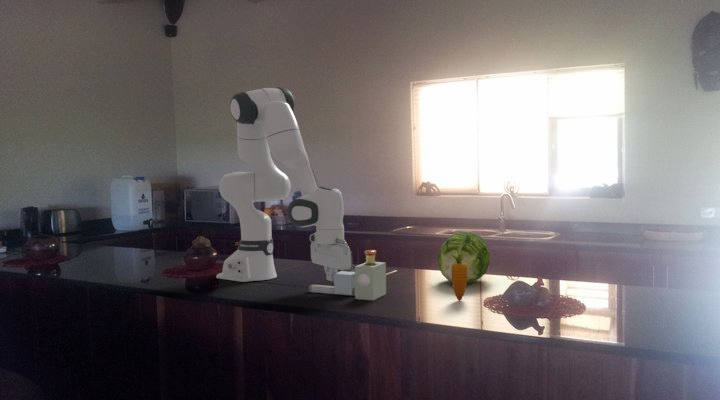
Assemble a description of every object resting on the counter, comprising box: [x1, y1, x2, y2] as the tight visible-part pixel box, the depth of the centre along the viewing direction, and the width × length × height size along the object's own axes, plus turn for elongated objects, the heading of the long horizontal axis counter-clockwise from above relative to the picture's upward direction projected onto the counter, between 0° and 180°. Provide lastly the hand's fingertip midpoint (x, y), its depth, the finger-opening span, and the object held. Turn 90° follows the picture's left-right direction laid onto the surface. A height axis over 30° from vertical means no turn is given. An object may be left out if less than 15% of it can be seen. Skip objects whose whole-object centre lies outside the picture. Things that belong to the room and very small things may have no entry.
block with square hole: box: [354, 261, 387, 301], centre depth 184 cm, size 6×10×10 cm, turn 155°
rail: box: [308, 284, 355, 297], centre depth 190 cm, size 18×2×2 cm, turn 65°
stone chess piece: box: [342, 250, 355, 272], centre depth 209 cm, size 6×6×12 cm
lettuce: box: [437, 231, 491, 285], centre depth 203 cm, size 17×23×17 cm
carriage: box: [333, 270, 355, 296], centre depth 188 cm, size 6×5×6 cm
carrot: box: [451, 250, 467, 302], centre depth 177 cm, size 5×5×15 cm
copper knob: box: [364, 249, 377, 266], centre depth 184 cm, size 4×4×6 cm
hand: (331, 280), depth 190 cm, fingers closed
